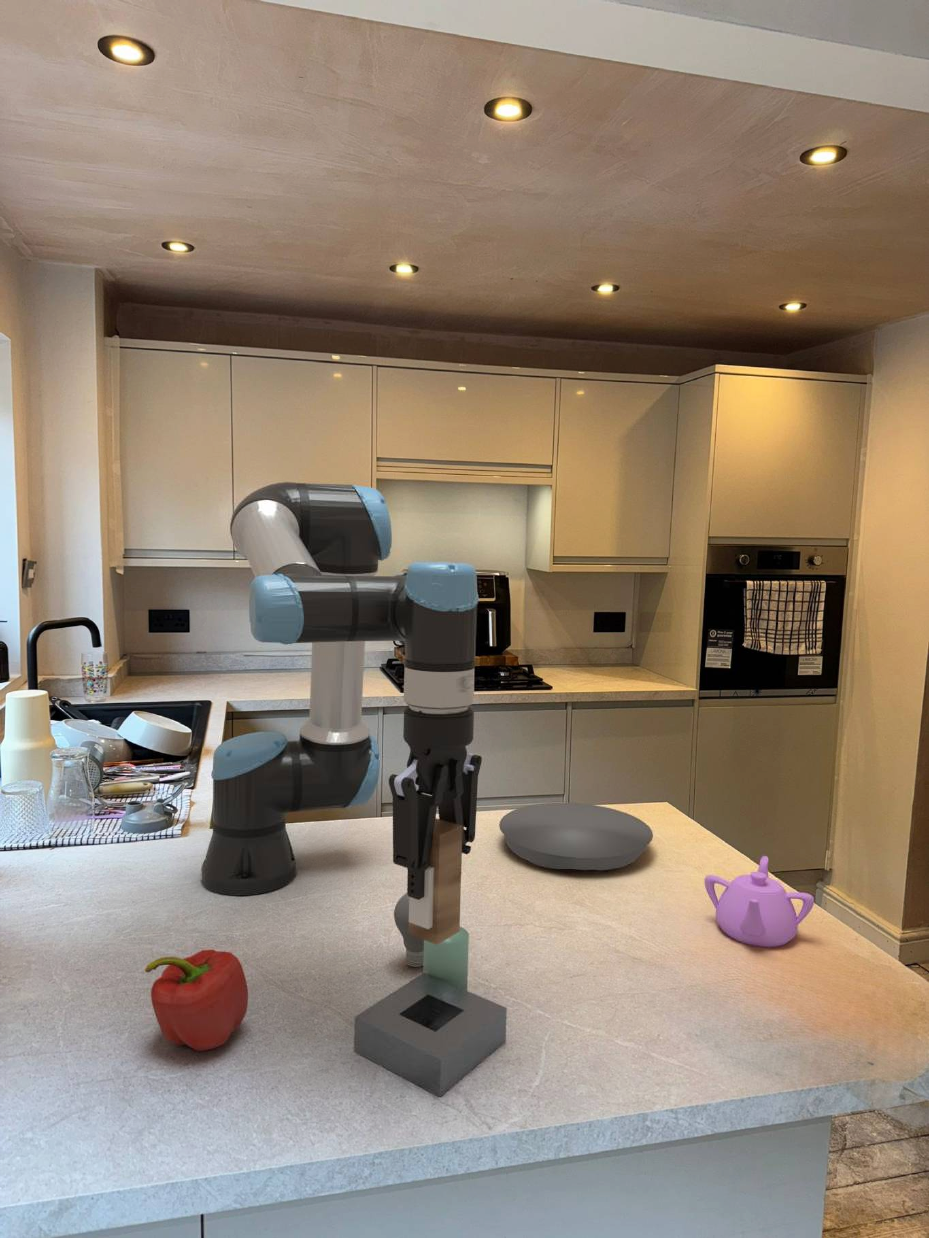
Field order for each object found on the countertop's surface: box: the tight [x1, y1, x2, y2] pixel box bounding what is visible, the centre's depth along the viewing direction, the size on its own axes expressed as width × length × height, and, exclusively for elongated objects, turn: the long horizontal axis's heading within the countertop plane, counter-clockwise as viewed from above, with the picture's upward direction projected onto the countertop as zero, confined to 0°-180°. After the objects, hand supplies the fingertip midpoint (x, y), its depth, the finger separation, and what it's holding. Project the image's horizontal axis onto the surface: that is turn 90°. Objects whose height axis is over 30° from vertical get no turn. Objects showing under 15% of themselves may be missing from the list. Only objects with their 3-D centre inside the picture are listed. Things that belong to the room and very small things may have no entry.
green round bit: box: [422, 926, 470, 991], centre depth 102 cm, size 6×6×8 cm
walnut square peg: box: [408, 818, 463, 945], centre depth 90 cm, size 4×4×12 cm
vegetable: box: [144, 949, 249, 1052], centre depth 92 cm, size 11×10×10 cm
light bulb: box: [393, 892, 424, 968], centre depth 109 cm, size 6×6×10 cm
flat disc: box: [499, 802, 654, 871], centre depth 152 cm, size 28×28×4 cm
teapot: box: [704, 855, 815, 948], centre depth 121 cm, size 12×14×9 cm
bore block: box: [353, 972, 508, 1098], centre depth 92 cm, size 12×12×4 cm
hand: (434, 916), depth 90 cm, fingers closed on walnut square peg, 4 cm apart
